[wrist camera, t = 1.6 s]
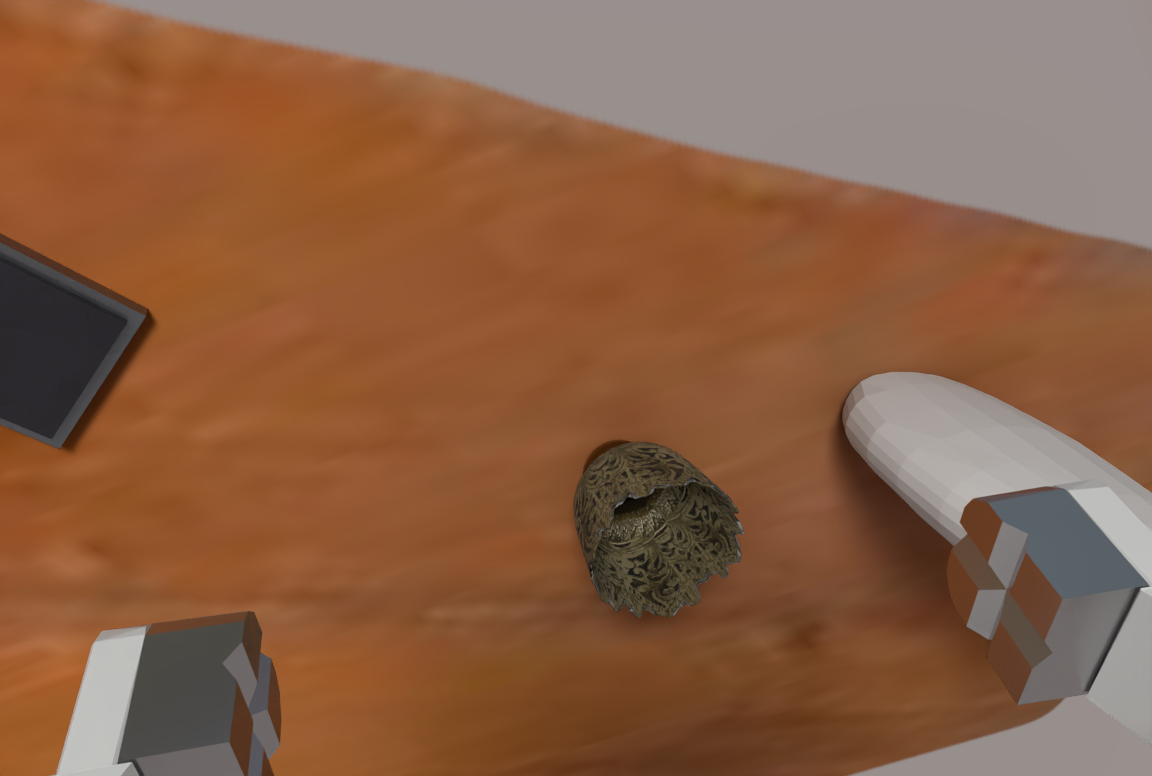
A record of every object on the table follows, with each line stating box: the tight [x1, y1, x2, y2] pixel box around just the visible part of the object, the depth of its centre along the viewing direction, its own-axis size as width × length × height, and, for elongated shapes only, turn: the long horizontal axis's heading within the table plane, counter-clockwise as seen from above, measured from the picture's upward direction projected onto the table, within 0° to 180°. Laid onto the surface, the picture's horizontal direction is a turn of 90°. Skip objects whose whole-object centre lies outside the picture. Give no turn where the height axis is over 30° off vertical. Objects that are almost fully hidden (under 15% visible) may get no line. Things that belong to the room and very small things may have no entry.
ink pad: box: [0, 234, 148, 449], centre depth 37 cm, size 7×7×1 cm
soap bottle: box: [842, 372, 1152, 546], centre depth 43 cm, size 14×8×27 cm, turn 70°
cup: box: [574, 440, 745, 619], centre depth 46 cm, size 8×7×8 cm
